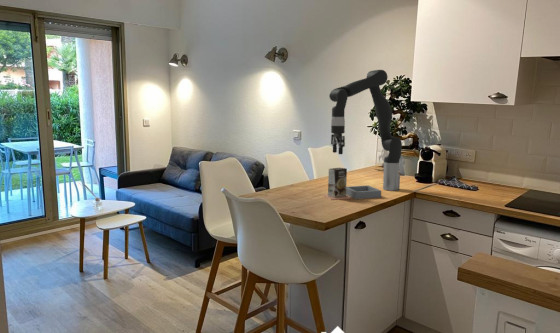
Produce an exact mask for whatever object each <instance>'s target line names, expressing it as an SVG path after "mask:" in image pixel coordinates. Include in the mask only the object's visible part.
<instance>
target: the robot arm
mask: <svg viewBox="0 0 560 333" xmlns="http://www.w3.org/2000/svg"><path fill="white" fill-rule="evenodd" d="M388 79H389V78H388V74H387V71H385V70H384V69H376V70H370V71H368V73H366V77H365V78H361V79H359V80H356V81H352V82H351V83H347V84H346V85H343V86H340V87H336V88H334V89H332V90H331V91H330V93H329V95H328V96H329V100H331V101H332V102H334V103H335V102H336V104H335V106H333V107H332V108H331V120H330V121H331V122H330V124H331V125H330V127H331V128H330V132H331V135H330V145H331V146H332V153H335V154H336V153H337V152H338V155H343V153H344V152H343V151H344V150H343V148H344V147H345V146H346V145H345V144H346V142H345V140H346V138H345V135H343V134H345V133H346V131H345V126H346V123H345V122H346V121H345V110H346V105H347V101H348V98H350V97H351V98H352V97H353V96H355V95H357V94H360V93H361V92H364V91H366V90H368V89H369V91H370V94H371V98H372V102H373V105H374V109H375V115H376V119H377V124H378V128H379V133H380V141H381V146H382V149H384V151H387V152H388V155H387V156H385V157H384V159H383V176H382V180H383V181H382V182H383V183H382V184H383V185H382V190H385V191H393V192H394V191H399V190H400V187H401V186H400V185H401V174H399V173H400V159H401V157H402V150H403V149H402V148H403V147H402V146H403V145H402V140H401V138H400V137H398V136H392V132H391V124H392V120H393V112H392V108H391V105H390V103H389V101H388V100H387V98H386V97H385V96H384V94H383V93H382V91H381V87H380V86H384V84H386V83H387V80H388Z"/></svg>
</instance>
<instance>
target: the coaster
mask: <svg viewBox="0 0 560 333" xmlns="http://www.w3.org/2000/svg"><path fill="white" fill-rule="evenodd" d="M322 196H324V197H326V198H327V199H329V200H330V201H332V200H334V201H335V200H336V201H337V200H346V199H347V200H348V199H350V200H351V198H352V197H350V196H348V195H346V196H342V197H336V198H334V197H331V196H328V193H323V195H322Z"/></svg>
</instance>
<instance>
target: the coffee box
mask: <svg viewBox="0 0 560 333" xmlns="http://www.w3.org/2000/svg"><path fill="white" fill-rule="evenodd" d="M347 169H348V168H345V167H333V168H328V176H327V177H328V179H327V182H328V183H327V184H328V185H327V186H328V187H327V194H328V196H331V197H334V198H336V197H342V196H346V187H347V177H348V175H347V174H348V173H347V172H348V170H347Z"/></svg>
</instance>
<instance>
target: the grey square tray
mask: <svg viewBox="0 0 560 333" xmlns="http://www.w3.org/2000/svg"><path fill="white" fill-rule="evenodd" d="M346 195H347V196H349V197H351V198H353V199H354V200H361V199H363V200H364V199H378V198H382V190H381V189H379V188H376V187H374V186H371V185H354V186H346Z"/></svg>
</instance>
